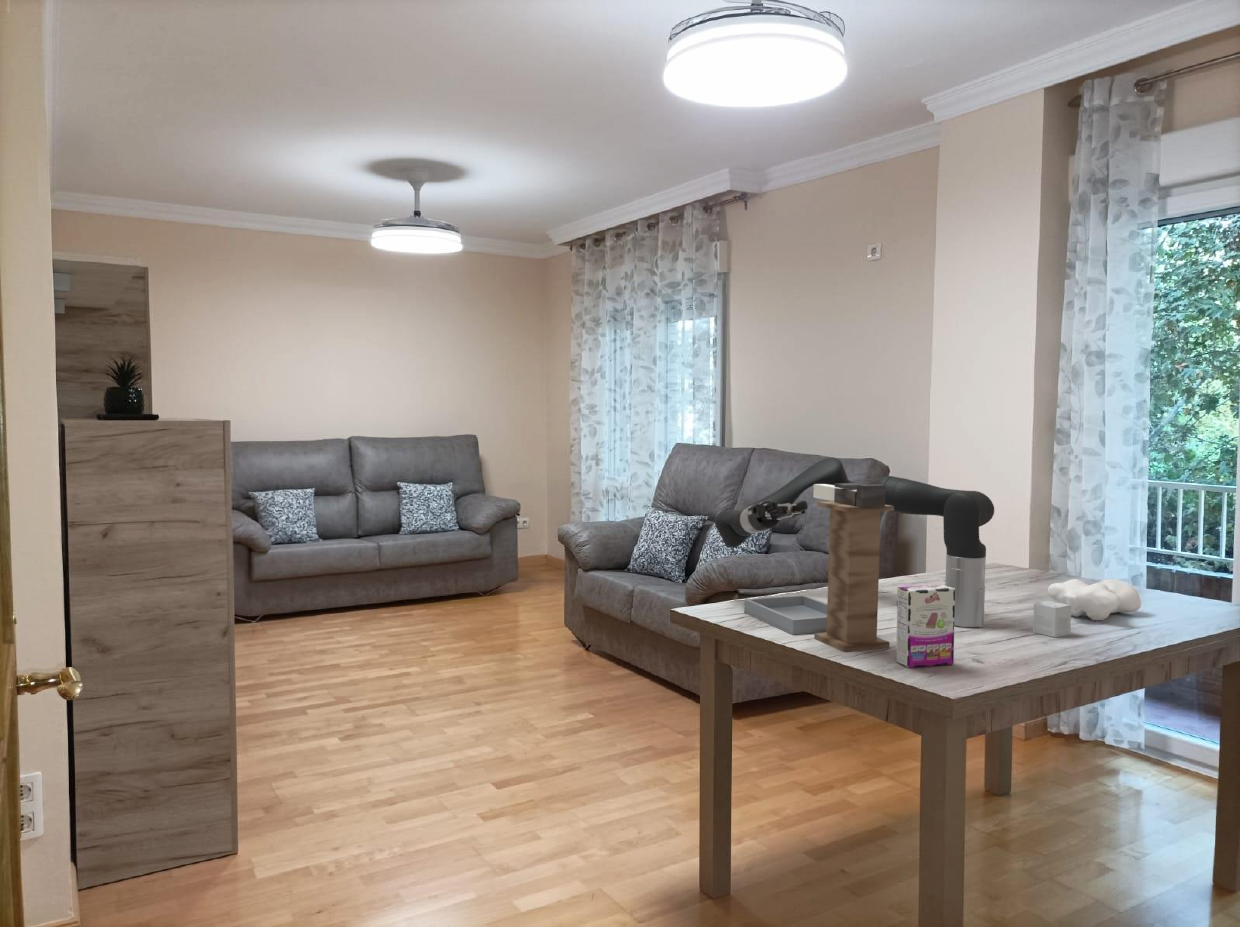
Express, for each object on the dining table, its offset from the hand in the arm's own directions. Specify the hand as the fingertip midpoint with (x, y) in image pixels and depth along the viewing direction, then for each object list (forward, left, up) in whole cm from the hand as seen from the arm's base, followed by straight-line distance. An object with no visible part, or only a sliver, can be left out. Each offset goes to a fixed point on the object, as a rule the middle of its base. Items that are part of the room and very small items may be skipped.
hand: (791, 505), depth 231 cm
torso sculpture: (-71, -40, -29) cm, 86 cm away
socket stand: (-19, +16, -29) cm, 38 cm away
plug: (-15, +12, +3) cm, 20 cm away
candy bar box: (-36, +26, -29) cm, 53 cm away
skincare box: (-61, -15, -29) cm, 69 cm away
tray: (-3, 0, -29) cm, 29 cm away
